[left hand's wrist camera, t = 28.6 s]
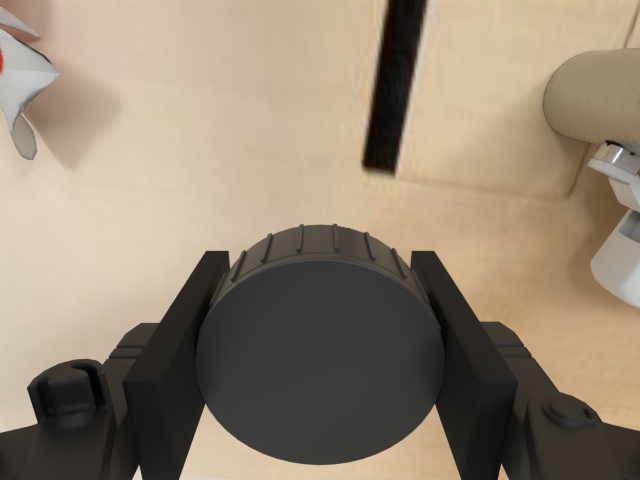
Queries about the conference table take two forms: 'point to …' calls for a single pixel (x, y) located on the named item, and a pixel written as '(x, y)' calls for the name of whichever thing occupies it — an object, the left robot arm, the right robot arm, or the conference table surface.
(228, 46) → the conference table surface
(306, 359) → the lid
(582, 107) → the jar
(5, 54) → the fish
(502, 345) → the left robot arm
